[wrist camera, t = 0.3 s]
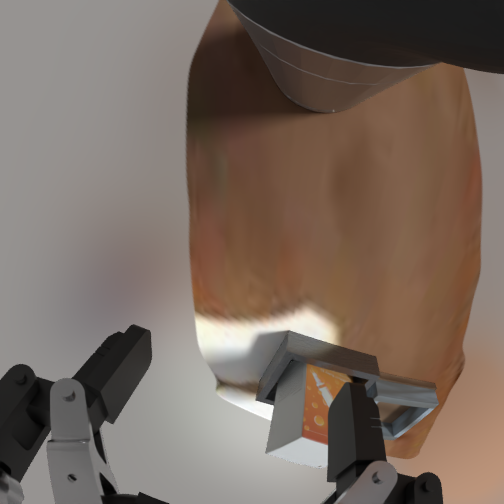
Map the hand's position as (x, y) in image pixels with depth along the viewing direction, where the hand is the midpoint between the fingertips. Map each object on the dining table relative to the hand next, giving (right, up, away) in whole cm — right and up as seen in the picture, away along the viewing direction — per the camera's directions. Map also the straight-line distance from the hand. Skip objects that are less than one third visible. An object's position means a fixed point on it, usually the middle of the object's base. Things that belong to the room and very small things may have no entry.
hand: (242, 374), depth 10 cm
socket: (+9, -11, +24) cm, 28 cm away
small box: (+9, -11, +24) cm, 28 cm away
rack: (+21, -19, +24) cm, 37 cm away
